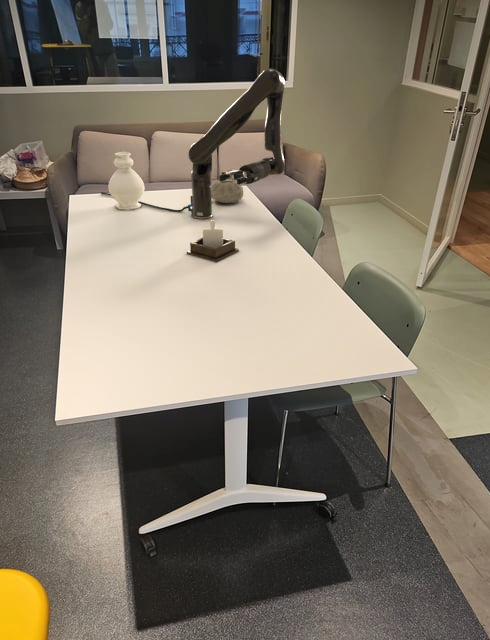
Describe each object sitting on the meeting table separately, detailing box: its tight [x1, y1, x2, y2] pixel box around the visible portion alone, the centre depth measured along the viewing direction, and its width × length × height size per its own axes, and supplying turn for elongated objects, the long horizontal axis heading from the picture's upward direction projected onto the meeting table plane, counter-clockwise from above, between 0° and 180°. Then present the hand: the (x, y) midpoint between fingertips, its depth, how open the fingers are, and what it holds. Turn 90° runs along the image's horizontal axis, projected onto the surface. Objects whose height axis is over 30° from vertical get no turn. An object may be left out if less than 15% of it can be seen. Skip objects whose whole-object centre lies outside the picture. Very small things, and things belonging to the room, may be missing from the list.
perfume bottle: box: [202, 219, 224, 248], centre depth 200 cm, size 8×2×12 cm, turn 91°
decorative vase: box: [107, 151, 146, 211], centre depth 250 cm, size 18×18×25 cm
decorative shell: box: [211, 180, 244, 204], centre depth 264 cm, size 18×18×10 cm
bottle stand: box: [186, 237, 239, 263], centre depth 203 cm, size 15×15×4 cm
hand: (228, 180), depth 197 cm, fingers open, 8 cm apart
